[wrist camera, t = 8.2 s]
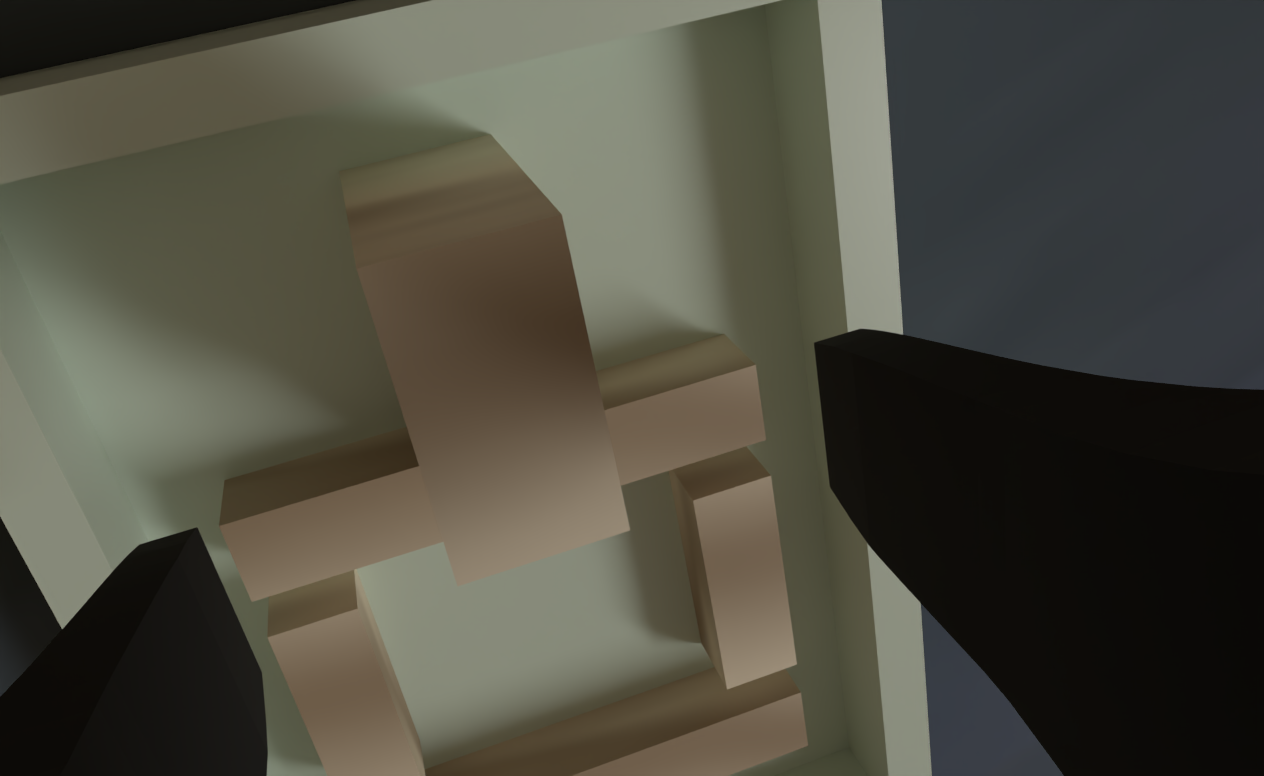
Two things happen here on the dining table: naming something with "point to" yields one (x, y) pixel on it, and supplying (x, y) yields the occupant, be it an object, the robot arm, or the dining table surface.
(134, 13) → the dining table surface
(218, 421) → the tray
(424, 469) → the tan joined block frame
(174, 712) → the robot arm
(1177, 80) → the dining table surface
